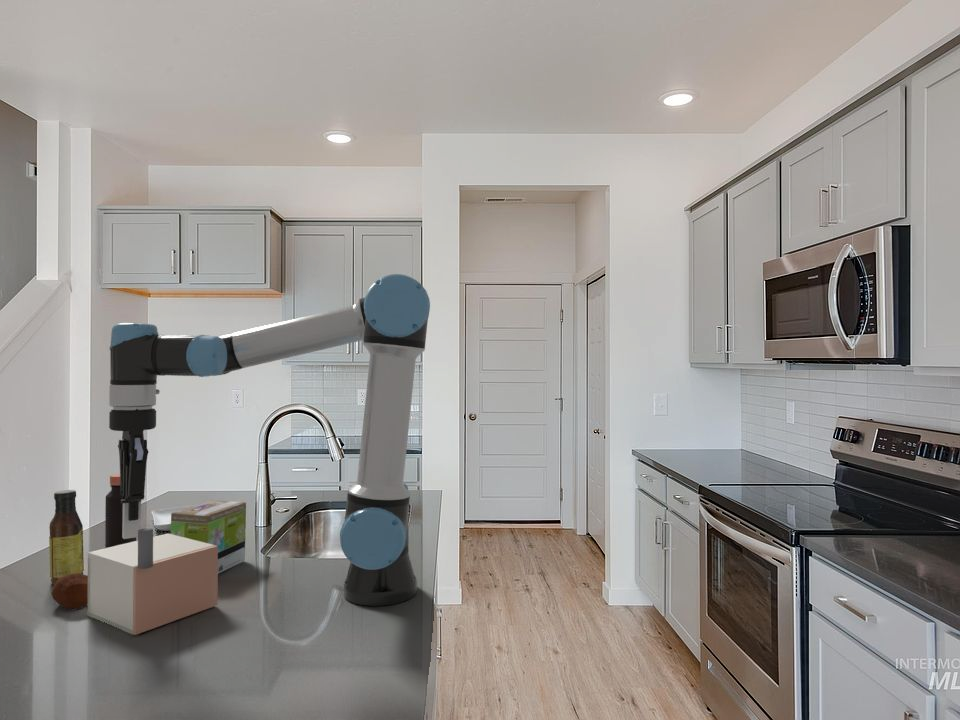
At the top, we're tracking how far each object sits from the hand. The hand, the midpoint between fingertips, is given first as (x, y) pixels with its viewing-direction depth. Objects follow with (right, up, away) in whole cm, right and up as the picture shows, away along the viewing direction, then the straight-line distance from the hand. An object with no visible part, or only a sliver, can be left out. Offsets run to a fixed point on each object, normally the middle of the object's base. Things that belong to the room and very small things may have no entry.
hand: (131, 536), depth 114 cm
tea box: (0, -17, +32) cm, 36 cm away
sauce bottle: (-27, -17, +24) cm, 40 cm away
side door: (+8, -16, +2) cm, 18 cm away
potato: (-17, -17, +10) cm, 26 cm away
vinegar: (-27, -17, +43) cm, 54 cm away
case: (0, -16, +7) cm, 18 cm away
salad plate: (-24, -18, +76) cm, 81 cm away
